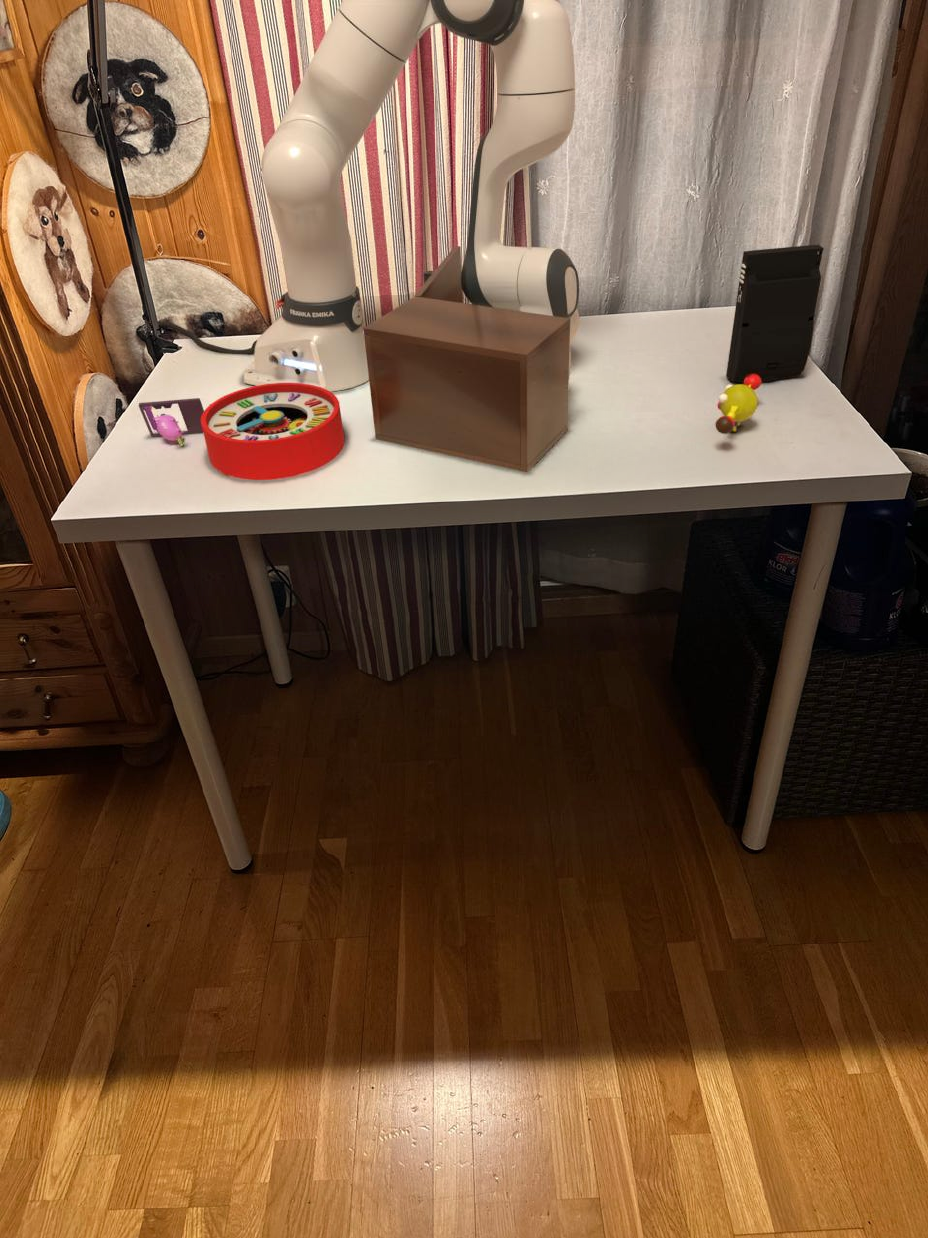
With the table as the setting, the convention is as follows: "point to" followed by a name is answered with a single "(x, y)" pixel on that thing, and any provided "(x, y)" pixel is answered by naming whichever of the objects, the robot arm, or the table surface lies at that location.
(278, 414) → the toy clock
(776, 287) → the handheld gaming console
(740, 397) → the toy figure
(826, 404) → the table surface
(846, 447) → the table surface
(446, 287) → the cabinet door
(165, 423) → the pink toy with backboard
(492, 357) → the cabinet
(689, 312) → the table surface
